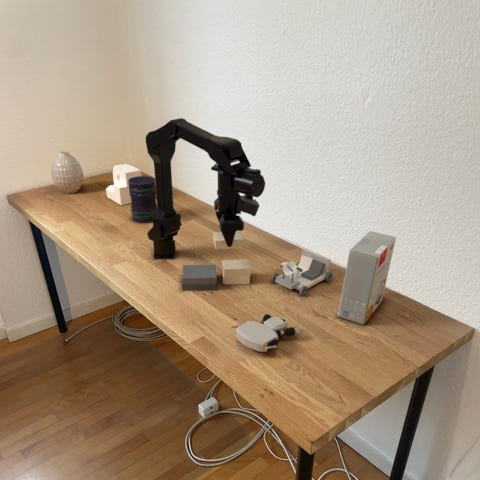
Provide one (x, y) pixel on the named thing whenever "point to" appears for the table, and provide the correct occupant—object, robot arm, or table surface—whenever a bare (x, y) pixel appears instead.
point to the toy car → (304, 272)
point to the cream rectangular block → (221, 242)
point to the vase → (67, 172)
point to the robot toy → (263, 333)
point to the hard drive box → (366, 276)
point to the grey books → (199, 277)
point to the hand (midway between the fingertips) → (228, 242)
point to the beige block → (236, 271)
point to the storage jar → (142, 198)
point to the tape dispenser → (122, 183)
